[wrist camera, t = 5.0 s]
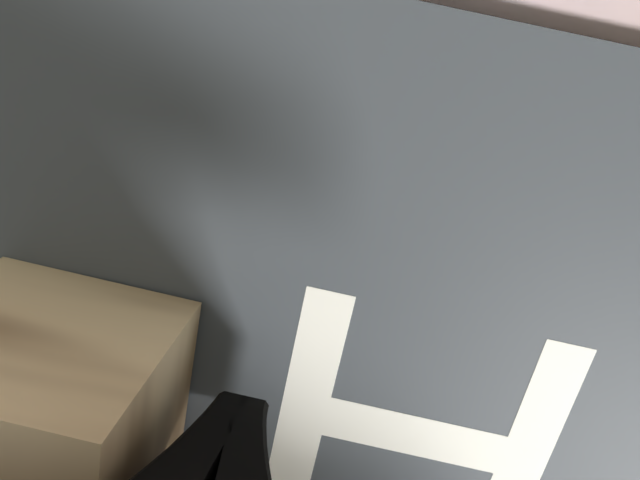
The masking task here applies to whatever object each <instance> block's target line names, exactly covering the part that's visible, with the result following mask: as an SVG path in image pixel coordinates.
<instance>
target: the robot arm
mask: <svg viewBox="0 0 640 480" xmlns="http://www.w3.org/2000/svg"><path fill="white" fill-rule="evenodd" d="M268 408H269V405H268V403H267V402H266V400H262V399H258V398H254V397H249V396H245V395H240V394H236V393H231V392H227V391H223V392H221V393H219V394H218V395H217V397H216V398H215V399H214V401H213V402H212V403H211V404H210V405H209V406H208V408H207V409H206V410H205V411H204V412H203V413H202V414H201V415H200V416H199V417H198V418H197V420H196V421H195V422H194V423H193V424H192V425H191V426H190V427H189V428H188V429H187V430H186V431H185V432H184V433H183V434H181V435H180V436H179V437H178V438H177V439H176V440H175V441H174V442H173V443H172V444H171V445H170V446H169V447H168V448H167V449H165V450H164V451H163V452H162V453H161V454H160V455H158V456H157V457H156V458H155V459H154V460H153V461H151V462H150V463H149V464H148V465H147V466H146V467H144V468H143V469H142V470H141V471H139V472H138V473H137V474H135V475H134V476H133V477H132V478H130V479H129V480H272V478H271V472H270V465H269V457H268V448H267V430H266V428H267V413H268Z"/></svg>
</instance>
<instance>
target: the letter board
mask: <svg viewBox="0 0 640 480" xmlns="http://www.w3.org/2000/svg"><path fill="white" fill-rule="evenodd" d="M2 257H7V258H12V259H16V260H20V261H25V262H29V263H33V264H38V265H42V266H46V267H51V268H55V269H59V270H64V271H68V272H72V273H76V274H81V275H85V276H89V277H94V278H98V279H102V280H107V281H111V282H115V283H120V284H124V285H128V286H133V287H137V288H141V289H145V290H150V291H154V292H158V293H163V294H167V295H171V296H176V297H180V298H184V299H189V300H193V301H197V302H202V304H201V311H200V318H199V326H198V333H197V340H196V347H195V354H194V361H193V368H192V375H191V383H190V390H189V397H188V404H187V411H186V418H185V425H184V432H185V431H186V430H187V429H188V428H189V427H190V426H191V425H192V424H193V423H194V422H195V421H196V420H197V418H198V417H199V416H200V415H201V414H202V413H203V412H204V411H205V410H206V409H207V408H208V406H209V405H210V404H211V403H212V402H213V401H214V399H215V398H216V397H217V395H218V394H219V393H221V392H223V391H227V392H231V393H236V394H240V395H245V396H249V397H254V398H258V399H262V400H266V402H267V403H268V405H269V408H268V413H267V428H266V430H267V448H268V457H269V465H270V472H271V478H272V480H640V48H639V47H634V46H630V45H625V44H620V43H616V42H611V41H606V40H602V39H597V38H592V37H588V36H583V35H578V34H574V33H569V32H564V31H560V30H555V29H550V28H546V27H541V26H536V25H532V24H527V23H522V22H518V21H513V20H508V19H504V18H499V17H494V16H490V15H485V14H480V13H476V12H471V11H466V10H462V9H457V8H452V7H448V6H443V5H438V4H434V3H429V2H424V1H420V0H0V258H2ZM184 432H183V433H184Z"/></svg>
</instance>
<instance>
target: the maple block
mask: <svg viewBox="0 0 640 480" xmlns="http://www.w3.org/2000/svg"><path fill="white" fill-rule="evenodd" d="M201 304H202V302H197V301H193V300H189V299H184V298H180V297H176V296H171V295H167V294H163V293H158V292H154V291H150V290H145V289H141V288H137V287H133V286H128V285H124V284H120V283H115V282H111V281H107V280H102V279H98V278H94V277H89V276H85V275H81V274H76V273H72V272H68V271H64V270H59V269H55V268H51V267H46V266H42V265H38V264H33V263H29V262H25V261H20V260H16V259H12V258H7V257H2V258H0V480H129V479H130V478H132V477H133V476H134V475H135V474H137V473H138V472H139V471H141V470H142V469H143V468H144V467H146V466H147V465H148V464H149V463H150V462H151V461H153V460H154V459H155V458H156V457H157V456H158V455H160V454H161V453H162V452H163V451H164V450H165V449H167V448H168V447H169V446H170V445H171V444H172V443H173V442H174V441H175V440H176V439H177V438H178V437H179V436H180V435H181V434H183V432H184V425H185V418H186V411H187V404H188V397H189V390H190V383H191V375H192V368H193V361H194V354H195V347H196V340H197V333H198V326H199V318H200V311H201Z"/></svg>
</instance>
